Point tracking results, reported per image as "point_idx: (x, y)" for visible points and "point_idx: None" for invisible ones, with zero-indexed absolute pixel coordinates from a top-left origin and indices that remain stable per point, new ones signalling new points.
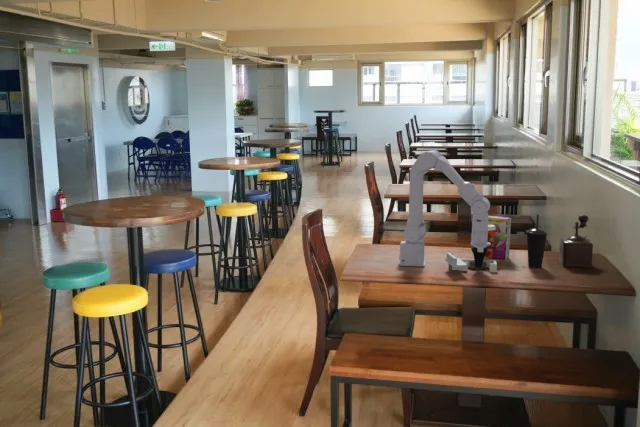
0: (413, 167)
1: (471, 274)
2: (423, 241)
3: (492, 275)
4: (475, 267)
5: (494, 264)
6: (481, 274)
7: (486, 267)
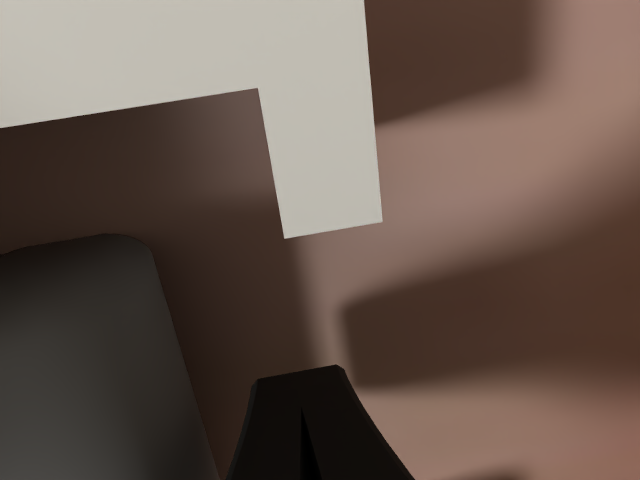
0: None
1: (579, 416)
2: None
3: (634, 45)
4: (211, 452)
5: (364, 56)
6: (565, 274)
7: (151, 256)
